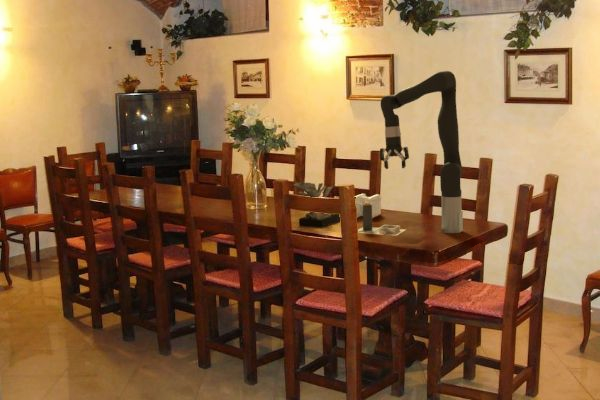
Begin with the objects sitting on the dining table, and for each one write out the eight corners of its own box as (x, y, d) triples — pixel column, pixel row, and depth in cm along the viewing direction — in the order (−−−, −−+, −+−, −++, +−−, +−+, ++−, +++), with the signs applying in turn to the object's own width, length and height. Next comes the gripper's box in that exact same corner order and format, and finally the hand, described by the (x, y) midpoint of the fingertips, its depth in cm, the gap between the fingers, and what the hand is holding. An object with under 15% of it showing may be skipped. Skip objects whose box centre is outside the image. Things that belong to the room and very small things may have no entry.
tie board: (406, 232, 357) (406, 224, 356) (396, 238, 345) (396, 230, 344) (363, 229, 367) (363, 222, 366) (352, 235, 354) (352, 227, 354)
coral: (318, 229, 371) (317, 186, 367) (284, 226, 382) (283, 184, 378) (343, 220, 391) (342, 179, 388) (311, 217, 402) (309, 178, 399)
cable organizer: (364, 213, 408) (363, 192, 406) (382, 214, 403) (381, 193, 401) (353, 218, 395) (352, 197, 393) (371, 220, 390) (371, 198, 388)
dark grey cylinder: (373, 228, 359) (373, 202, 357) (370, 231, 356) (370, 203, 353) (364, 228, 361) (364, 201, 359) (361, 230, 357) (361, 203, 355)
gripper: (376, 137, 368) (379, 169, 370) (404, 135, 362) (406, 168, 363) (382, 136, 375) (384, 168, 377) (409, 134, 368) (411, 167, 370)
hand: (395, 168), depth 370 cm, fingers open, 8 cm apart
